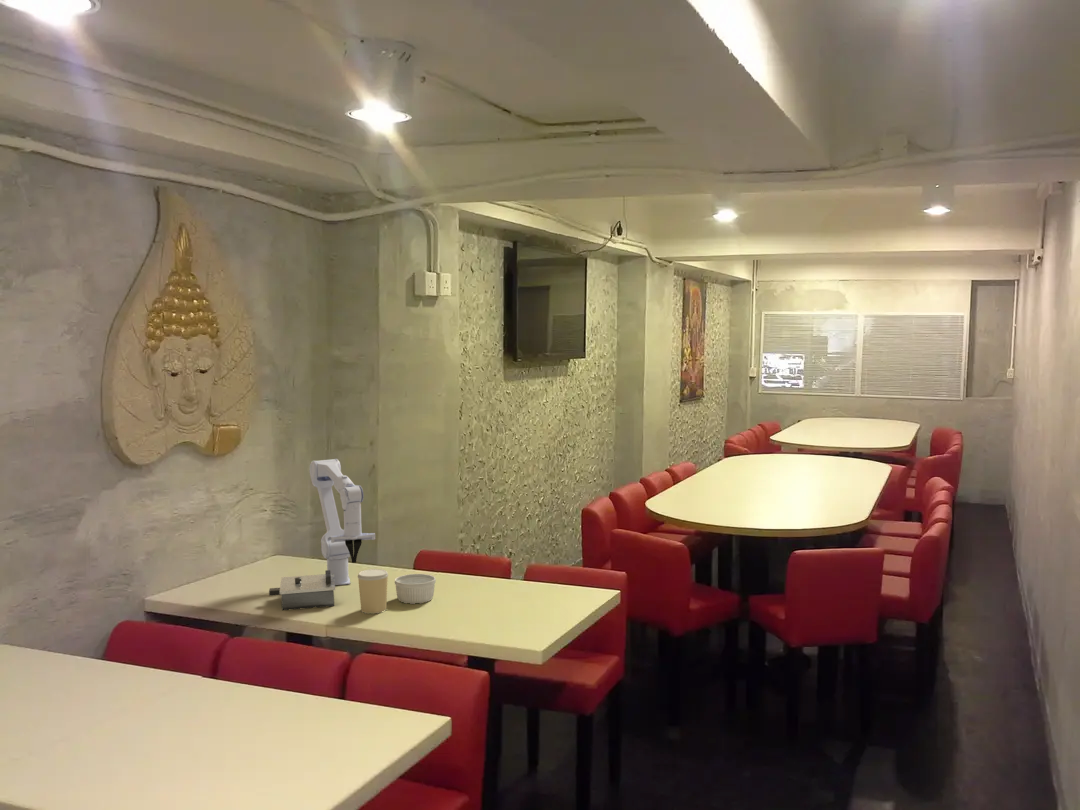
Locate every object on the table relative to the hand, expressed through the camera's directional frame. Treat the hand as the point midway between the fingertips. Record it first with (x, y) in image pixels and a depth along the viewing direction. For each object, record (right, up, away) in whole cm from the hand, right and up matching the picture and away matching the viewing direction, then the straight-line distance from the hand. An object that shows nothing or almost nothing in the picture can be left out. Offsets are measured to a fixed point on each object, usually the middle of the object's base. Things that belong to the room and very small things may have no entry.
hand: (353, 562), depth 293 cm
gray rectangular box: (-15, -11, -9) cm, 21 cm away
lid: (-13, -6, -9) cm, 17 cm away
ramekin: (+22, -11, -8) cm, 26 cm away
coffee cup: (+10, -12, -19) cm, 25 cm away
